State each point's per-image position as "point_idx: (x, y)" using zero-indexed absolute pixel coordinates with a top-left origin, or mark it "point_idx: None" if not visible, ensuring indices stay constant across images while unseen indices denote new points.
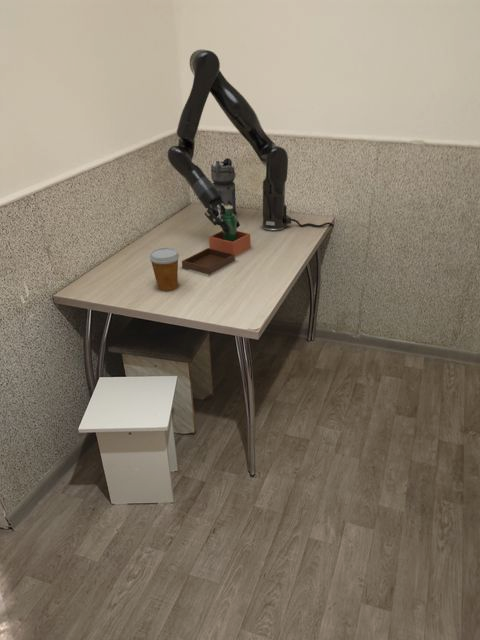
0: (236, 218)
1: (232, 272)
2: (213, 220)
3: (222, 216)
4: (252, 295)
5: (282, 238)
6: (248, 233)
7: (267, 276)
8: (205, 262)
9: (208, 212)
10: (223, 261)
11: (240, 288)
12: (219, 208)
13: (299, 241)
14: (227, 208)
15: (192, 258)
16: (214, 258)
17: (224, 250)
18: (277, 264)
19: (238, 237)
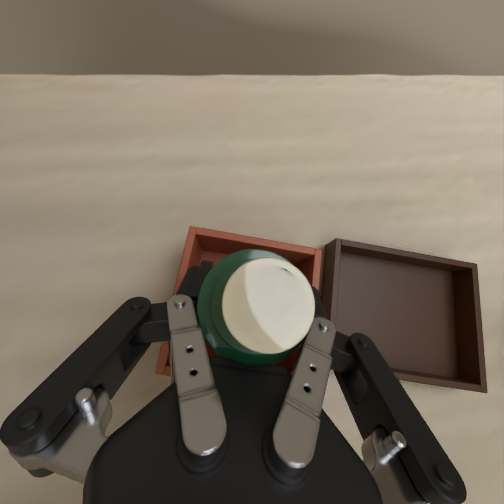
0: (239, 252)
1: (397, 217)
2: (355, 391)
3: (262, 363)
4: (474, 125)
5: (58, 177)
6: (189, 234)
7: (369, 126)
8: (393, 326)
9: (442, 463)
10: (398, 250)
11: (463, 160)
12: (300, 408)
13: (74, 119)
14: (310, 295)
15: (428, 375)
16: (348, 315)
17: None
18: (287, 126)
19: None
